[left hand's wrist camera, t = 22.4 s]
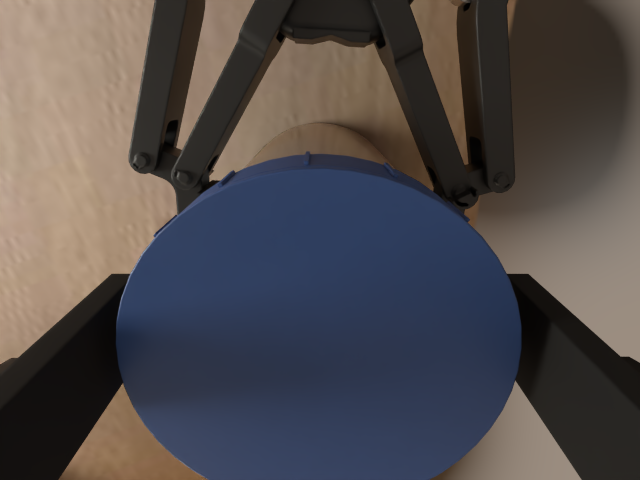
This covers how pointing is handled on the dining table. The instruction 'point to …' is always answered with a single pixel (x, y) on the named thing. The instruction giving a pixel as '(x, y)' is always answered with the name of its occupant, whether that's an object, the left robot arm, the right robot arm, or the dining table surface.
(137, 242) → the dining table surface
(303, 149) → the jar
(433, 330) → the lid
